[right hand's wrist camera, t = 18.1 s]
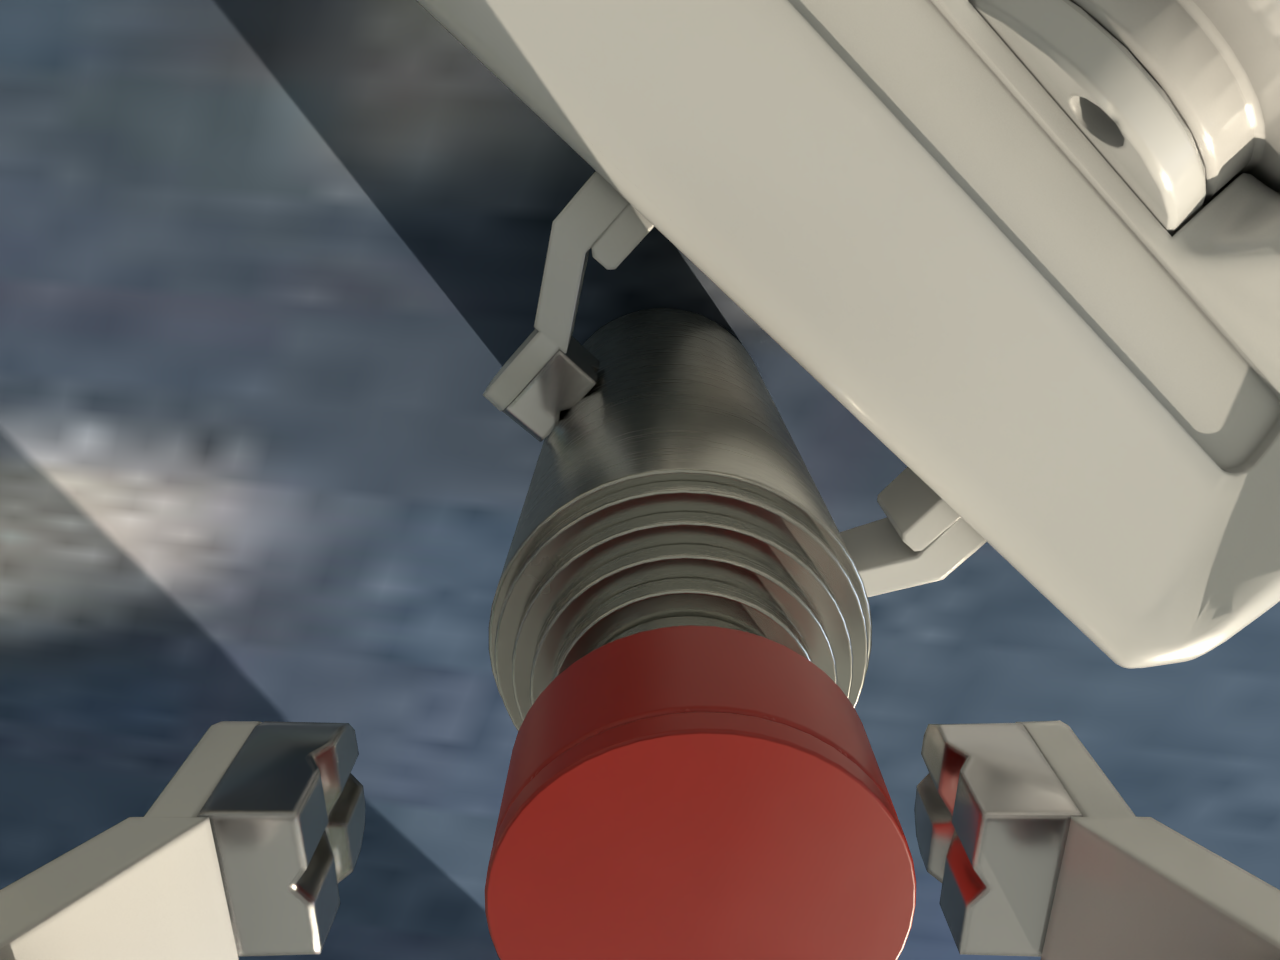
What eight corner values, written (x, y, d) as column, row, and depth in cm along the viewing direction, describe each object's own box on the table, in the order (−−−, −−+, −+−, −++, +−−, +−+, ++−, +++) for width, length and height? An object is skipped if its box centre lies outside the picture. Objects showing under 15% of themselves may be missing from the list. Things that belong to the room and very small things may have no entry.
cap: (751, 961, 11) (772, 1112, 9) (451, 836, 11) (414, 974, 9) (942, 719, 10) (1006, 842, 8) (616, 559, 9) (610, 657, 8)
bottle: (531, 463, 25) (355, 985, 9) (603, 274, 23) (528, 546, 8) (714, 531, 25) (824, 1117, 10) (798, 354, 24) (1082, 746, 8)
